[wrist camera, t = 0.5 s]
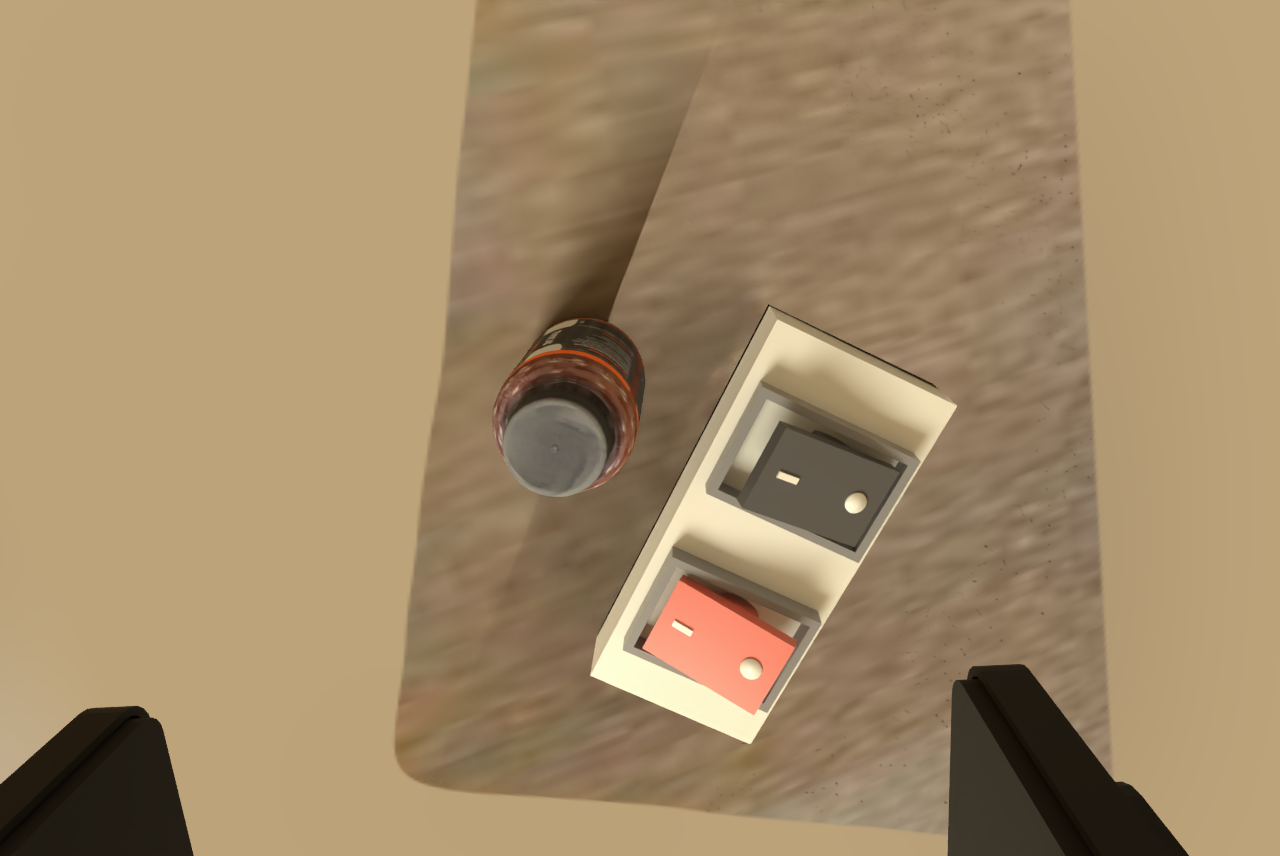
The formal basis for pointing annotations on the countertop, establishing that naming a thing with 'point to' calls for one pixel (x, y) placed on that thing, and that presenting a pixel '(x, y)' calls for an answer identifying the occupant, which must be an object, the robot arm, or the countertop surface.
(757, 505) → the black rocker
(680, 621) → the red rocker
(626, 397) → the supplement bottle
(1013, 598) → the countertop surface
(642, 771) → the countertop surface
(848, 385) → the rocker switch panel
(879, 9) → the countertop surface
